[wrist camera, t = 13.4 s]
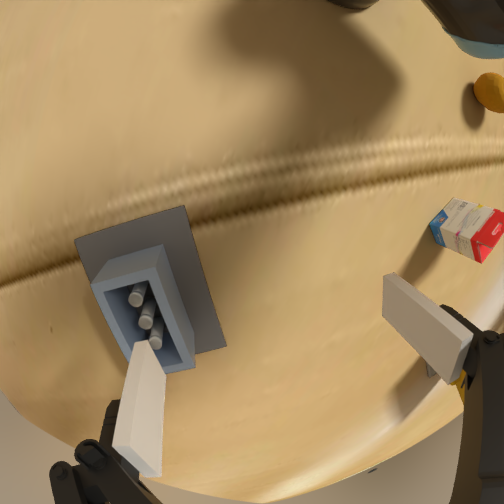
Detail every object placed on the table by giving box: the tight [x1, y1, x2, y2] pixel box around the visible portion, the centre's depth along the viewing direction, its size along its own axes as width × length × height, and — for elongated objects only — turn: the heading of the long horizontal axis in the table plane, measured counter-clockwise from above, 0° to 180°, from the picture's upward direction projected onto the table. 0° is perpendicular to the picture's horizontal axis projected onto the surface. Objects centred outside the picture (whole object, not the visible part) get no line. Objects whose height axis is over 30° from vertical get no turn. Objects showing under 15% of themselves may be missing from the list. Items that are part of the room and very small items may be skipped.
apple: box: [474, 73, 504, 113], centre depth 33 cm, size 9×8×9 cm
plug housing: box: [90, 244, 196, 374], centre depth 34 cm, size 14×8×8 cm, turn 12°
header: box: [74, 205, 227, 354], centre depth 35 cm, size 22×16×7 cm
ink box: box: [429, 198, 504, 264], centre depth 37 cm, size 8×5×15 cm, turn 128°
